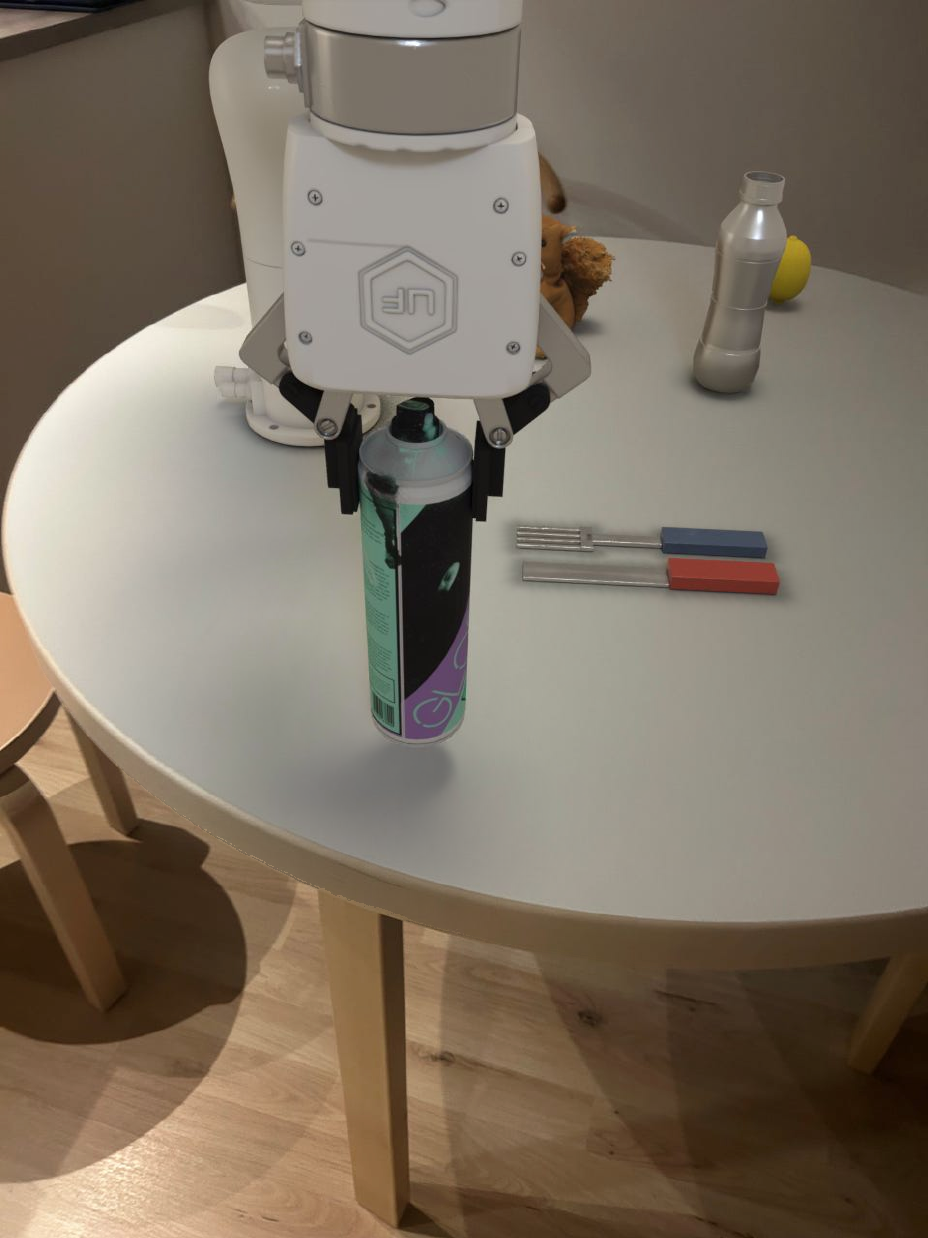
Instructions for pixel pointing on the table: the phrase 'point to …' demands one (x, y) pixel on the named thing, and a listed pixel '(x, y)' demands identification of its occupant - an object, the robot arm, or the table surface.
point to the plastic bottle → (742, 285)
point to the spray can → (416, 572)
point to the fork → (649, 540)
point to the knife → (666, 575)
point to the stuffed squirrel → (570, 270)
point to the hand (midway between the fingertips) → (416, 498)
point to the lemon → (791, 271)
